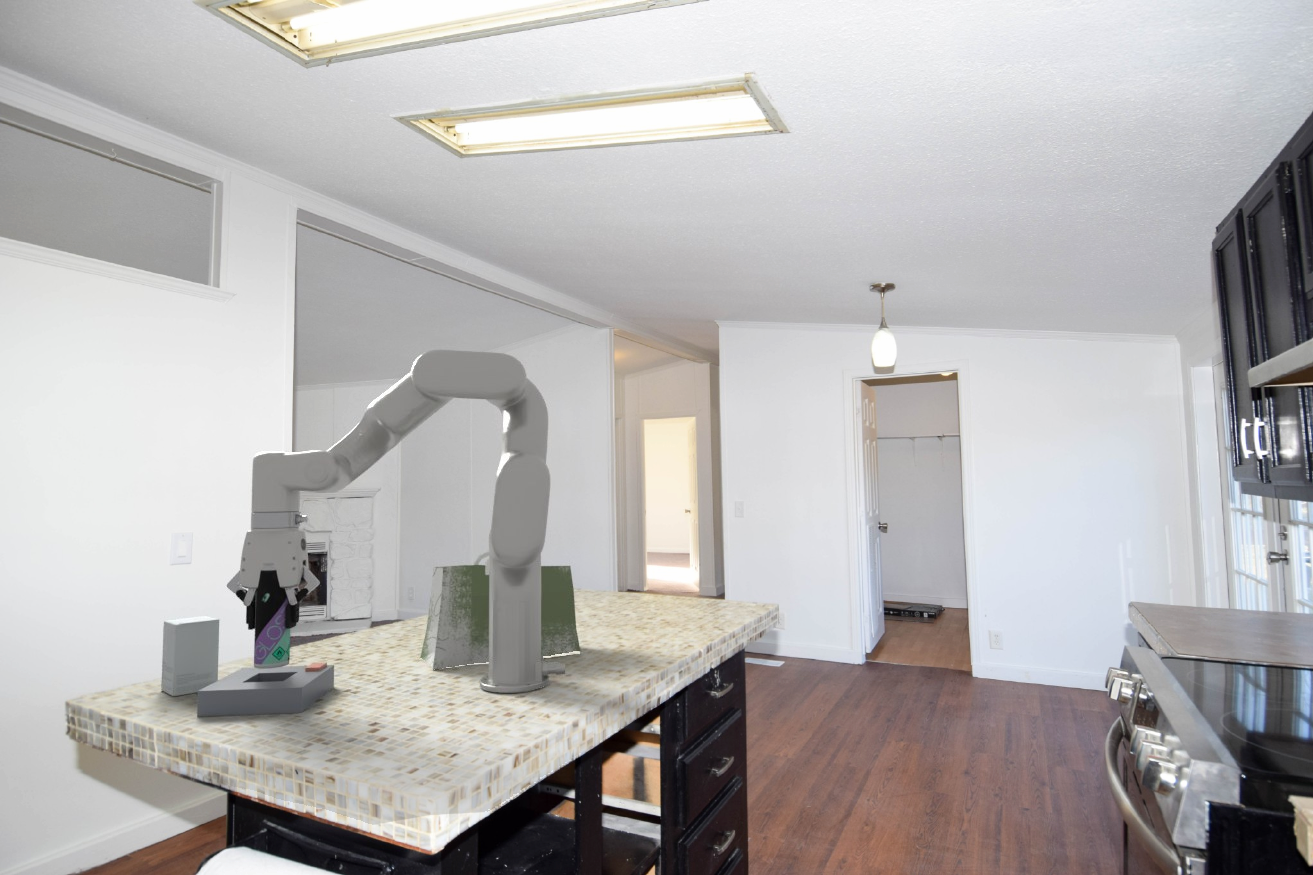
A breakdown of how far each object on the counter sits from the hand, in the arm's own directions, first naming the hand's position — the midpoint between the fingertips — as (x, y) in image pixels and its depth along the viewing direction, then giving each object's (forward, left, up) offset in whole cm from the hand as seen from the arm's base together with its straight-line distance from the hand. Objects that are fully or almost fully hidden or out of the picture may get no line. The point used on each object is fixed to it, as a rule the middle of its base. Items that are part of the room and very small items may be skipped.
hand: (272, 626), depth 129 cm
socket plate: (0, 0, -12) cm, 12 cm away
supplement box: (+18, -10, -13) cm, 24 cm away
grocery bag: (-36, -30, -13) cm, 49 cm away
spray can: (0, 0, -7) cm, 7 cm away
